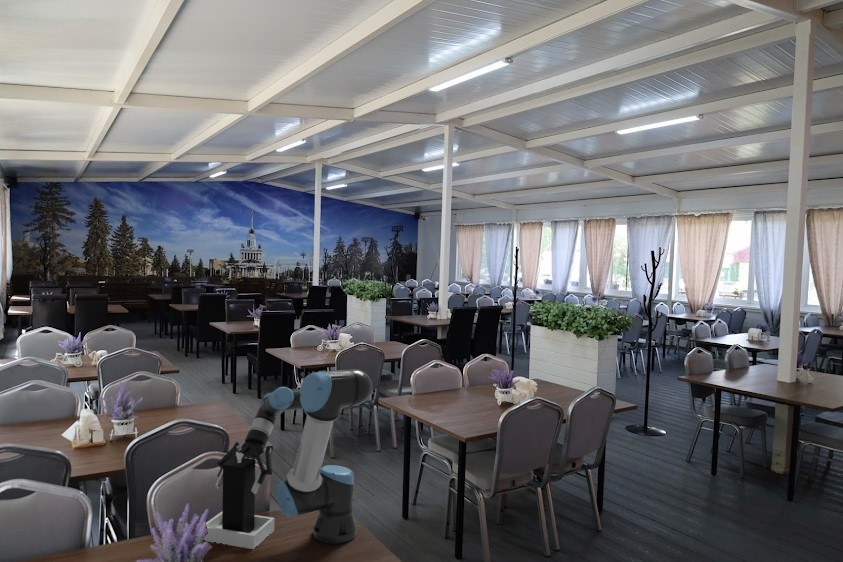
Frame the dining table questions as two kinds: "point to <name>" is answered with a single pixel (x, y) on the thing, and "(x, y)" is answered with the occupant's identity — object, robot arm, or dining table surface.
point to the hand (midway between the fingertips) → (235, 489)
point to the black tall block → (238, 494)
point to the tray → (239, 539)
